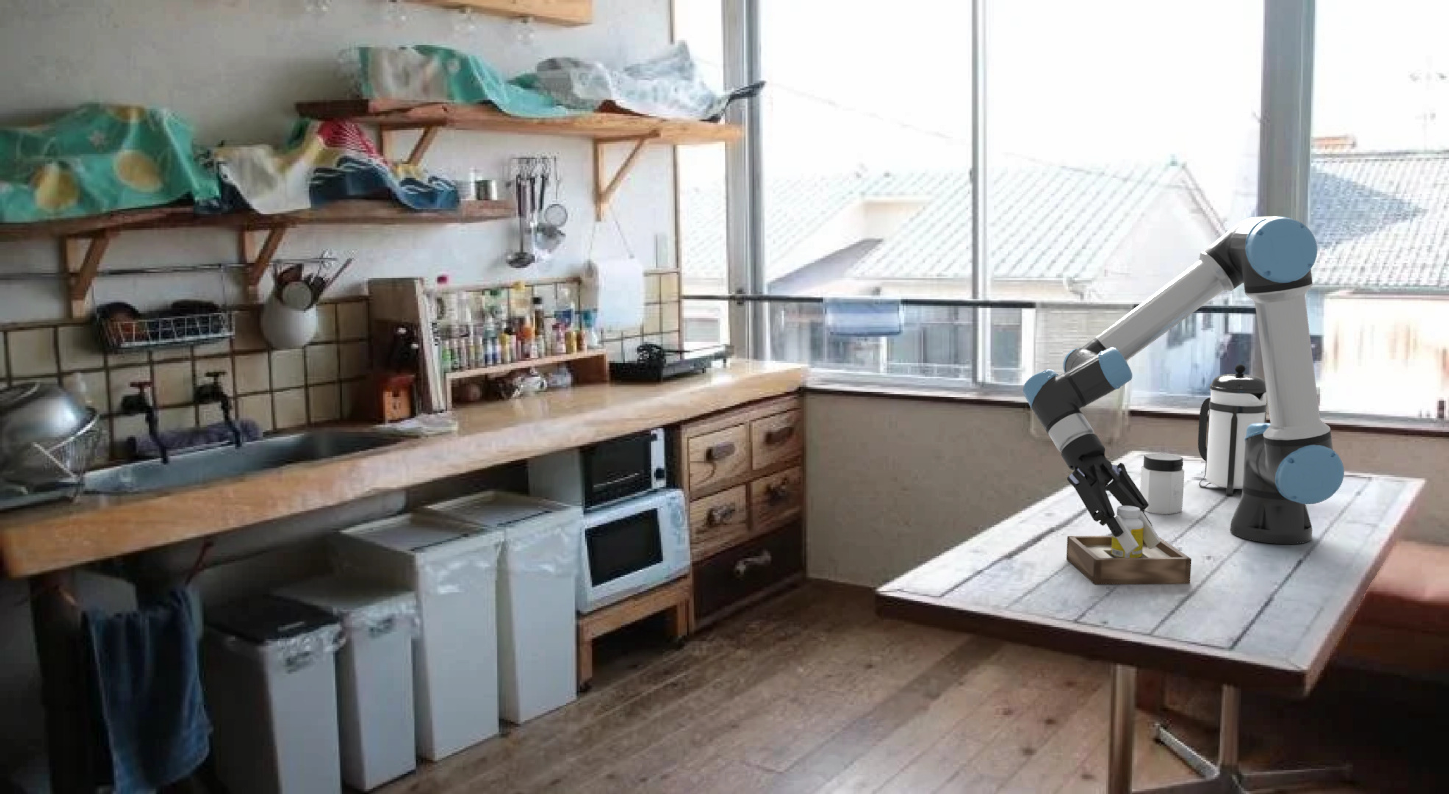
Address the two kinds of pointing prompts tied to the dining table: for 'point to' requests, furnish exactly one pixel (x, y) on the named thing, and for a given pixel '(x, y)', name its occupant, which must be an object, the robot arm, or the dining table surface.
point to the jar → (1162, 483)
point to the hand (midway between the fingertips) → (1144, 547)
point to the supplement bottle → (1135, 528)
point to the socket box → (1127, 562)
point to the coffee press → (1229, 426)
